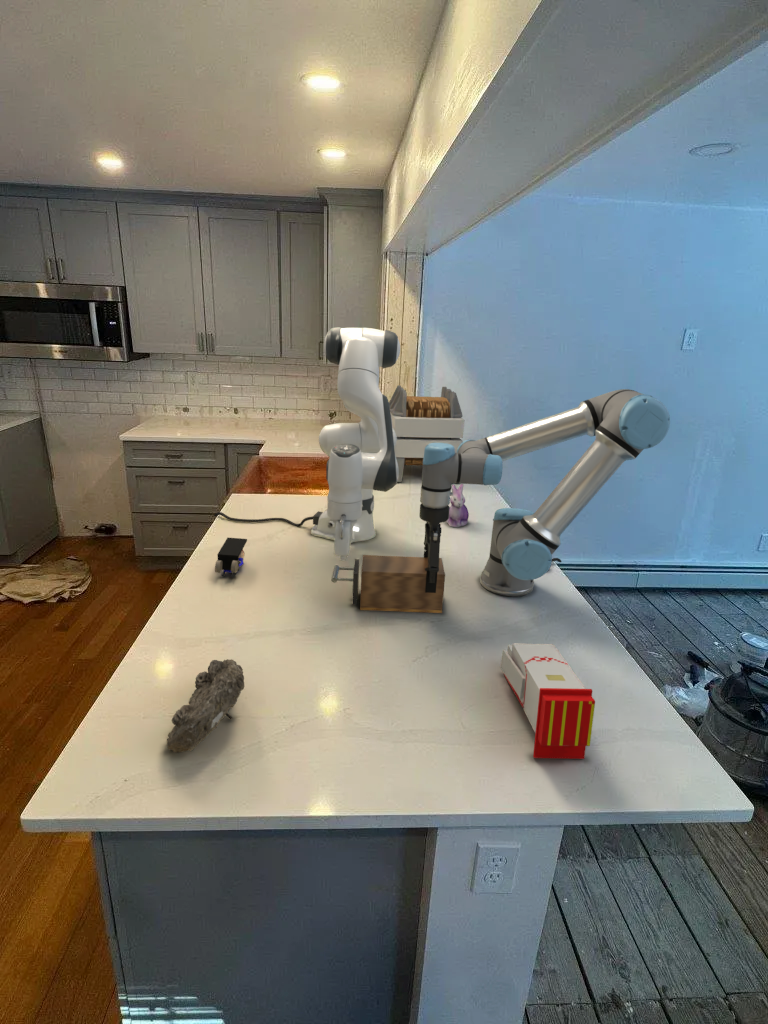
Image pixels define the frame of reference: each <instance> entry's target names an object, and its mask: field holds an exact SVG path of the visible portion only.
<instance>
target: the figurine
mask: <svg viewBox="0 0 768 1024" xmlns="http://www.w3.org/2000/svg"><path fill="white" fill-rule="evenodd" d="M463 491H464V484H462V483H460V485H459V487H456V485H455V484H452V485H451V492H453V496H450V506H449V507H450V509H449V519H448V520H447V521H446V523H447V525H448V526H449V527H454V528H460V527H464V526H466V525H468V521H469V517H470V516H469V510H468V507H467V506H466V504H465V503H466V498H465V496H464V492H463Z"/></svg>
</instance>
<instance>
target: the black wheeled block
mask: <svg viewBox="0 0 768 1024" xmlns="http://www.w3.org/2000/svg"><path fill="white" fill-rule="evenodd" d="M247 542H248V538H240V537H226V539H225V541H224V543H223V544H222V546H221V547H220V549H219V551H218V552H217V560H216V562H215V564H214V572H215V573H221V577H222V578H224V577H225V576H226V574H227V573H230V574H231V573H232V574H231V578H234V577H235V575H236V573H237V572H239V571H240V567H242V566H243V565H244V564H245V562H244V558H245V551H244V547H245V546H246V544H247Z"/></svg>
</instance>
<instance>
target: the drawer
mask: <svg viewBox="0 0 768 1024" xmlns="http://www.w3.org/2000/svg"><path fill="white" fill-rule="evenodd" d="M353 564H354V565H353V567H351V566H350V567H349V566H339V565H338V564H335V565H333V569H332V575H331V579H330V580H331V583H334V584H335V583H337V582H352V600H351V601H352V603H351V604H352V606H357V605H358V598H359V597H358V596H359V587H360V586H359V585H360V583H359V582H360V558H354V563H353ZM340 571H353V572H352V578H349V577H339V574H340Z"/></svg>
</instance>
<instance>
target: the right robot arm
mask: <svg viewBox="0 0 768 1024" xmlns="http://www.w3.org/2000/svg"><path fill="white" fill-rule="evenodd" d="M670 426H671V417H670V412H669V409H668V408H667V407H666V405H665V404H664V403H663V402H661V400H659V399H658V398H655V397H654V396H652V395H650V394H646V393H645V394H644V393H641V392H638V391H636V390H633V389H630V388H629V389H628V388H623V389H622V388H621V389H616V390H612V391H609V392H606V393H603V394H600V395H596V396H594V397H591V398H589V399H586V400H583V401H582V400H581V401H580V403H579V404H578V406H576V407H573V408H571V409H567V410H564V411H561V412H559V413H555V414H553V415H550V416H549V415H548V416H546V417H543V418H540V419H537V420H534V421H531V422H528V423H525V424H522V425H519V426H516V427H513V428H511V429H507V430H503V431H502V432H498V433H495V434H492V435H489V436H486V437H483V438H479V439H466V440H462V441H463V442H462V443H461V444H460V445H459V446H458V449H457V453H455V448H454V446H453V445H451V444H447V443H430V444H428V445H427V446H426V447H425V450H424V458H423V466H422V470H421V472H422V473H421V487H420V496H419V497H420V500H419V501H420V504H419V518H420V520H422V521H424V522H425V523H424V539H423V540H424V541H423V545H424V546H423V550H424V551H423V557H428V567H427V568H425V571H427V573H426V586H425V593H436V584H437V572H438V571H439V558H440V548H441V536H442V527H441V524H442V523H445V522H447V520H448V519H449V509H450V507H451V506H450V505H451V502H450V499H451V496H453V492H452V485H453V484H463V485H464V484H465V485H482V486H497V485H499V484H500V482H501V481H502V477H503V462H505V461H507V460H511V459H515V458H518V457H520V456H523V455H526V454H529V453H533V452H535V451H539V450H541V449H542V450H543V449H545V448H548V447H549V448H550V447H551V446H554V445H557V444H561V443H564V442H567V441H570V440H574V439H577V438H580V437H582V436H589V437H591V438H593V437H595V438H594V441H593V442H592V443H591V444H590V446H589V447H588V448H587V449H586V451H584V452H583V454H582V455H581V457H580V458H579V459H578V460H577V461H576V462H575V464H574V465H573V466H572V467H571V468H570V469H569V471H568V472H567V474H565V476H564V477H563V478H562V479H561V480H560V482H559V483H558V484H557V485H556V487H555V488H554V489H553V490H552V491H551V492H550V493H549V495H548V496H547V497H546V498H545V500H544V501H543V502H542V503H541V504H540V505H539V507H538V508H537V509H536V511H535V512H534V511H532V510H529V509H525V508H517V507H503V508H499V509H497V510H496V511H494V515H493V518H492V529H491V539H490V548H489V557H488V559H487V561H486V563H485V565H484V568H483V570H482V572H481V574H480V579H479V582H480V585H481V586H482V587H483V588H485V589H486V590H487V591H489V592H490V593H493V594H496V595H499V596H504V597H522V596H526V595H529V594H530V593H532V592H533V590H534V584H535V581H534V580H537V579H539V578H541V577H542V576H544V575H546V574H547V573H548V572H549V570H550V568H551V566H552V563H553V562H558V563H562V560H561V558H559V557H553V555H554V553H555V552H556V550H558V549H559V547H560V546H561V536H562V534H563V533H564V532H565V531H566V529H568V528H569V526H570V525H571V524H572V523H573V521H574V520H575V519H576V518H577V517H578V516H579V515H580V513H581V512H582V511H583V510H584V509H585V507H587V505H588V504H589V503H590V502H591V500H592V499H594V497H595V496H596V495H597V494H598V493H599V492H600V490H602V488H603V487H604V486H605V484H606V483H607V482H608V481H609V480H610V478H612V476H613V475H614V474H615V473H616V472H617V470H618V469H619V468H620V467H621V466H622V465H623V464H624V463H625V462H626V461H632V460H633V461H634V460H636V458H638V456H639V455H641V453H642V452H643V450H647V449H651V448H654V447H656V446H658V445H659V444H660V443H661V442H662V441H664V439H665V438H666V436H667V434H668V432H669V430H670Z"/></svg>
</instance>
